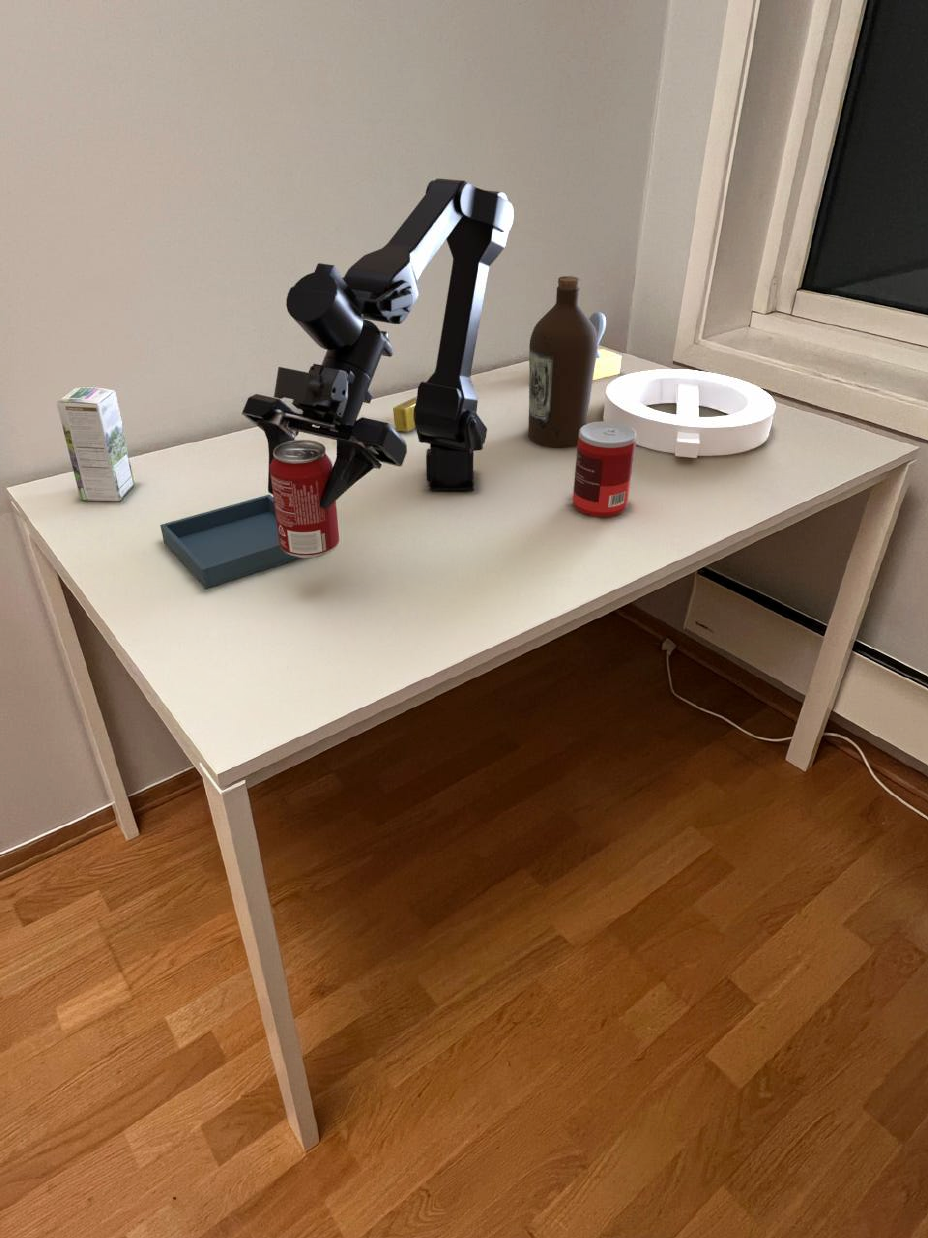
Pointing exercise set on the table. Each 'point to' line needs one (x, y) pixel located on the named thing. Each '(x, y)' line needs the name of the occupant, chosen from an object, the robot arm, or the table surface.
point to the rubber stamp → (604, 351)
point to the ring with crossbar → (690, 412)
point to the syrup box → (96, 443)
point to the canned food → (603, 468)
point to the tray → (227, 541)
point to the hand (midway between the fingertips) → (296, 500)
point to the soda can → (303, 499)
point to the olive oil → (561, 370)
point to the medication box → (405, 415)
